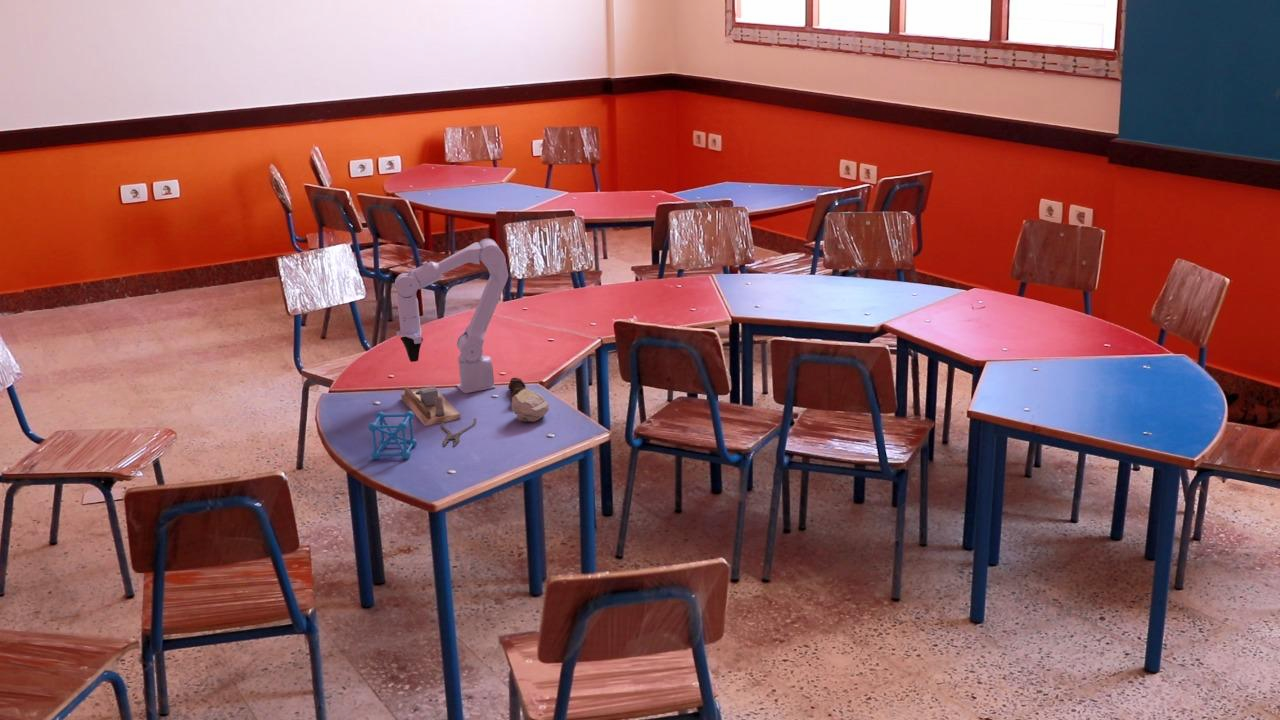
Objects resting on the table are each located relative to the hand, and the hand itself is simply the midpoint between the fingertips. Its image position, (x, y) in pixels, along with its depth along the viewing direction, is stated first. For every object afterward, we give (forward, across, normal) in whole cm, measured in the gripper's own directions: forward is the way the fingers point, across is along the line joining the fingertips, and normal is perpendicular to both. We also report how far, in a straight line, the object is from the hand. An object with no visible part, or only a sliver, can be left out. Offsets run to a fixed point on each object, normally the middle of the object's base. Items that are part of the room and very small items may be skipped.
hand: (414, 360), depth 353 cm
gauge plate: (+10, +13, 0) cm, 17 cm away
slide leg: (+9, +13, 0) cm, 16 cm away
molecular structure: (+11, +39, -17) cm, 44 cm away
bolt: (+11, +17, +25) cm, 32 cm away
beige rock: (+11, +35, +22) cm, 43 cm away
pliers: (+11, +34, +2) cm, 36 cm away
